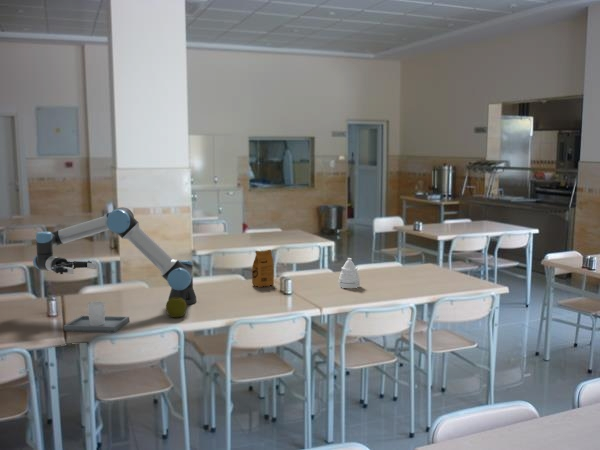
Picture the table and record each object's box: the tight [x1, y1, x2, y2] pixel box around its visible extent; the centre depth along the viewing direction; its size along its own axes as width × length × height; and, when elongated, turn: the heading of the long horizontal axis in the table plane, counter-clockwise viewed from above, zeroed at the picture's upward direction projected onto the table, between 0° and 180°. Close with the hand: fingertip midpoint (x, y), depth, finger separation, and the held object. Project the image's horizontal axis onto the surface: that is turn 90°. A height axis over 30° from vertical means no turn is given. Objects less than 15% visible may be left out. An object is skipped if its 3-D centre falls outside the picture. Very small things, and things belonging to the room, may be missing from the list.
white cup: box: [87, 300, 106, 326], centre depth 285 cm, size 8×8×10 cm
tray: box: [63, 314, 130, 333], centre depth 286 cm, size 24×18×2 cm
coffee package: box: [251, 249, 275, 288], centre depth 373 cm, size 10×12×22 cm
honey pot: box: [338, 257, 361, 289], centre depth 370 cm, size 13×13×18 cm
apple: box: [165, 297, 188, 318], centre depth 302 cm, size 10×10×11 cm
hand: (84, 268), depth 292 cm, fingers open, 13 cm apart
